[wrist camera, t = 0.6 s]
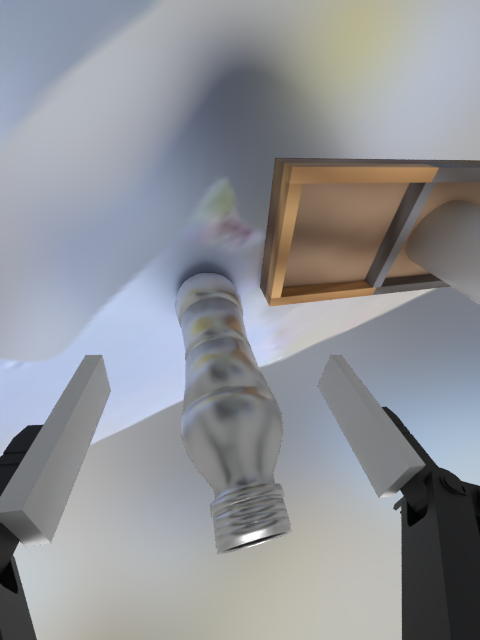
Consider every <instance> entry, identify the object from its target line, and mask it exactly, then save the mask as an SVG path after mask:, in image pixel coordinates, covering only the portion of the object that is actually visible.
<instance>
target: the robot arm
mask: <svg viewBox="0 0 480 640" xmlns="http://www.w3.org/2000/svg"><path fill="white" fill-rule="evenodd" d="M317 386H318V387H319V389H320V391H321V393H322V395H323V397H324V398H325V400H326V402H327V404H328V406H329V408H330V409H331V411H332V413H333V415H334V417H335V419H336V420H337V422H338V424H339V426H340V428H341V430H342V431H343V433H344V435H345V437H346V438H347V440H348V442H349V444H350V446H351V448H352V450H353V451H354V453H355V455H356V457H357V459H358V460H359V462H360V464H361V466H362V468H363V470H364V471H365V473H366V475H367V477H368V479H369V481H370V482H371V484H372V486H373V488H374V490H375V492H376V493H377V495H378V497H379V498H381V497H388V496H394V495H395V494H396V493H397V492H398V491H399V490H401V492H402V494H403V495H404V496H403V498H401V499H400V500H399V501H398V502H397V503H396V504H395V505H394V508H393V509H395V510H397V509H398V508H399V507H400V506H401V511H400V513H401V516H402V640H480V486H478V485H474V484H470V483H467V482H463V481H461V480H460V479H459V478H458V477H457V476H456V475H454V474H453V473H451V472H450V471H448V470H445V469H443V468H439V467H438V466H437V465H436V464H435V463H434V461H433V460H432V459H431V458H430V456H429V455H428V454H427V453H426V451H425V450H424V449H423V448H422V447H421V445H420V444H419V443H418V442H417V440H416V439H415V438H414V437H413V435H412V434H410V432H409V430H408V429H407V428H406V427H405V426H404V424H403V423H402V422H401V420H400V419H399V418H398V417H397V415H395V414H394V413H393V412H392V411H391V410H390V409H388V408H387V407H381V406H380V405H379V403H378V402H377V401H376V399H375V398H374V397H373V396H372V394H371V393H370V392H369V390H368V389H367V388H366V386H365V385H364V384H363V382H362V381H361V380H360V379H359V377H358V376H357V375H356V373H355V372H354V371H353V369H352V368H351V367H350V365H349V364H348V363H347V362H346V360H345V359H344V358H343V357H342V355H330V357H329V360H328V362H327V364H326V366H325V369H324V371H323V373H322V376H321V378H320V380H319V383H318V385H317ZM110 392H111V390H110V386H109V382H108V378H107V373H106V369H105V365H104V361H103V357H102V355H86V356H85V357H84V359H83V361H82V362H81V364H80V366H79V367H78V369H77V371H76V372H75V374H74V376H73V377H72V379H71V380H70V382H69V384H68V385H67V387H66V389H65V390H64V392H63V394H62V395H61V397H60V399H59V400H58V402H57V404H56V405H55V407H54V409H53V410H52V412H51V414H50V415H49V417H48V419H47V420H46V422H45V424H44V425H29V426H27V427H26V428H24V429H23V430H22V431H21V432H20V433H19V434H18V435H16V436H15V437H14V438H13V439H12V441H11V442H10V444H9V445H8V447H7V448H6V450H5V451H4V454H3V455H2V456H1V457H0V640H37V639H36V635H35V631H34V628H33V624H32V620H31V617H30V613H29V609H28V606H27V602H26V598H25V595H24V591H23V587H22V583H21V580H20V576H19V572H18V569H17V565H16V561H15V558H14V556H13V553H14V551H15V549H16V547H17V545H18V543H19V541H20V542H21V543H22V544H23V545H24V546H34V545H41V544H48V543H51V541H52V539H53V537H54V534H55V532H56V529H57V527H58V524H59V521H60V519H61V516H62V514H63V511H64V509H65V506H66V504H67V501H68V498H69V496H70V493H71V491H72V488H73V486H74V483H75V481H76V478H77V476H78V473H79V470H80V468H81V466H82V463H83V460H84V458H85V455H86V453H87V450H88V448H89V445H90V443H91V440H92V438H93V435H94V433H95V430H96V427H97V425H98V422H99V420H100V417H101V415H102V412H103V410H104V407H105V405H106V402H107V399H108V397H109V394H110Z"/></svg>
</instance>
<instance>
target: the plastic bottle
mask: <svg viewBox="0 0 480 640" xmlns="http://www.w3.org/2000/svg"><path fill="white" fill-rule="evenodd" d="M175 308H176V313H177V317H178V321H179V324H180V326H181V328H182V334H183V340H184V345H185V360H186V365H185V370H186V383H185V393H184V403H183V413H182V422H181V423H182V424H181V427H182V428H181V438H182V441H183V444H184V447H185V450H186V453H187V456H188V457H189V459H190V460H191V462H192V463H193V465H194V466H195V468H196V469H197V471H198V472H199V473H200V474H201V475H202V477H203V478H204V479H205V480H206V481H207V483H208V484H209V485H210V486H211V487H212V488H213V490H214V494H215V500H214V501H213V502H212V503H211V504H210V510H211V517H213V520H214V531H215V541H216V548H217V554H224V553H229V552H233V551H237V550H240V549H244V548H247V547H250V546H254V545H257V544H260V543H263V542H267V541H269V540H272V539H275V538H278V537H281V536H283V535H285V534H288V533H290V532H291V528H290V526H291V524H290V521H289V517H288V514H287V510H286V507H285V503H284V500H283V497H284V493H283V489H282V485H280V484H277V483H275V482H274V474H273V472H274V469H275V465H276V462H277V458H278V455H279V451H280V447H281V441H282V436H283V423H282V413H281V410H280V408H279V406H278V404H277V401H276V399H275V397H274V396H273V394H272V392H271V390H270V388H269V386H268V384H267V382H266V380H265V378H264V376H263V374H262V373H261V371H260V369H259V367H258V364H257V362H256V359H255V357H254V354H253V352H252V350H251V347H250V344H249V342H248V339H247V335H246V331H245V326H244V322H243V309H242V303H241V298H240V295H239V293H238V291H237V290H236V288H235V287H234V285H233V284H232V283H231V282H230V281H229V280H228V279H227V278H226V277H224V276H222V275H219V274H216V273H200V274H196V275H194V276H191V277H190V278H188V279H187V280H186V281H185V282H184V283H183V284H182V285H181V287H180V288H179V291H178V294H177V298H176V304H175Z"/></svg>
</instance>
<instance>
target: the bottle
mask: <svg viewBox="0 0 480 640" xmlns="http://www.w3.org/2000/svg"><path fill="white" fill-rule="evenodd" d="M406 254H407V257H408V258H409V259H410V260H411V261H413V262H414V263H416V264H417V265H419V266H421V267H422V268H424V269H425V270H427V271H428V272H430V273H431V274H433V275H434V276H436V277H437V278H439V279H441V280H442V281H444V282H445V283H447V284H448V285H450V286H451V287H453V288H454V289H456V290H457V291H459V292H461V293H462V294H464V295H465V296H467V297H468V298H470V299H471V300H473V301H474V302H476V303H478V304H479V305H480V206H478V205H475V204H472V203H469V202H466V201H462V200H453V201H450V202H447V203H445V204H443V205H441V206H439V207H437V208H436V209H434V210H433V211H432V212H430V213H429V214H428V215H427V216H426V217H425V218H424V219H423V220H422V221H421V222H420V223H419V224H418V225H417V227H416V228H415V229H414V231H413V232H412V234H411V236H410V238H409V240H408V243H407V247H406Z"/></svg>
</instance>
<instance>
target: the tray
mask: <svg viewBox="0 0 480 640" xmlns="http://www.w3.org/2000/svg"><path fill="white" fill-rule="evenodd" d="M453 200H462V201H466V202H469V203H472V204H475V205H478V206H480V161H470V160H467V161H466V160H395V159H317V158H316V159H315V158H312V159H311V158H275V165H274V174H273V182H272V191H271V199H270V208H269V216H268V225H267V233H266V242H265V250H264V259H263V267H262V276H261V284H260V288H261V290H262V292H263V294H264V296H265V298H266V300H267V302H268V304H269V306H277V305H287V304H296V303H305V302H314V301H323V300H332V299H341V298H350V297H359V296H368V295H377V294H386V293H395V292H404V291H413V290H422V289H431V288H440V287H449V286H450V285H448V284H447V283H445V282H444V281H442V280H441V279H439V278H437V277H436V276H434V275H433V274H431V273H430V272H428V271H427V270H425V269H424V268H422V267H421V266H419V265H417V264H416V263H414V262H413V261H411V260H410V259H409V258H408V257H407V254H406V247H407V243H408V240H409V238H410V236H411V234H412V232H413V231H414V229H415V228H416V227H417V225H418V224H419V223H420V222H421V221H422V220H423V219H424V218H425V217H426V216H427V215H428V214H429V213H430V212H432V211H433V210H434V209H436V208H437V207H439V206H441V205H443V204H445V203H447V202H450V201H453Z"/></svg>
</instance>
